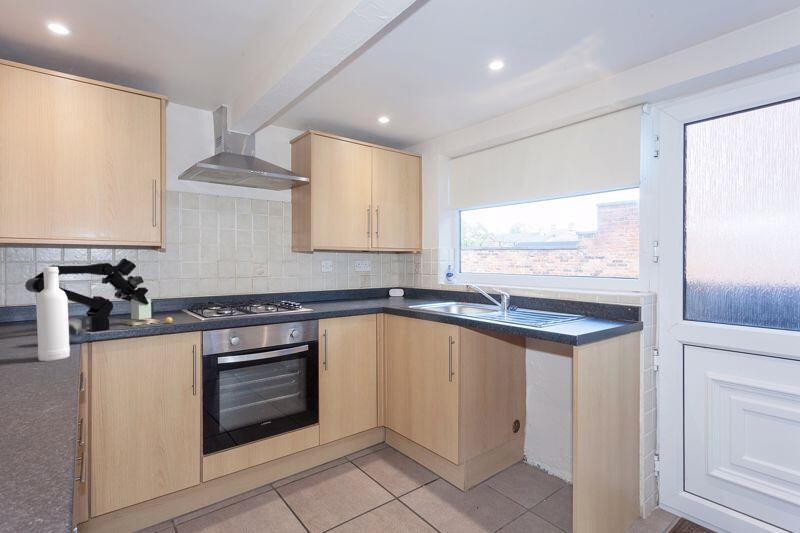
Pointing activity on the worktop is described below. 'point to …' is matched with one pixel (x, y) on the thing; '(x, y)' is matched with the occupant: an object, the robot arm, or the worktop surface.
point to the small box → (77, 329)
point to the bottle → (52, 319)
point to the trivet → (141, 322)
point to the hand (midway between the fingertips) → (143, 303)
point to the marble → (168, 320)
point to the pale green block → (140, 310)
